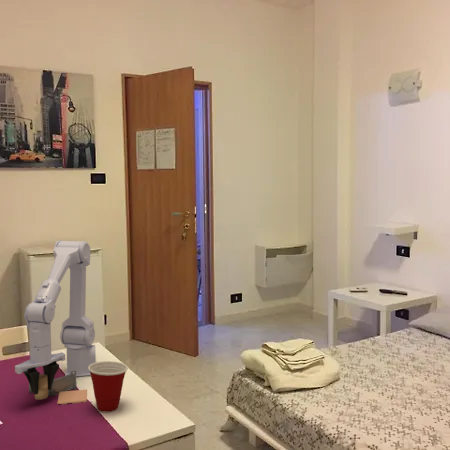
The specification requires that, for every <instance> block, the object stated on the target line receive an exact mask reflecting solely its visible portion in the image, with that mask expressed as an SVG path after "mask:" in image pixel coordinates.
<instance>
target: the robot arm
mask: <svg viewBox="0 0 450 450" xmlns="http://www.w3.org/2000/svg"><path fill="white" fill-rule="evenodd" d="M52 253H53V258H54V261H53V263H52V266H51V268H50V272H49V275H48V277H47V279H45V280H43V281H42V283H41V284H40V286H39V289H38V291H37V293H36V295H35V297H34V299H33V301H31V302H30V303H29V304H27V305H26V307H25V310H24V314H23V316H24V321H26V328H27V330H28V331H29V334H28V335H29V336H28V337H29V359H27V360H26V361H23V362H21V363H18V364H17V365H14V372H15V373H16V374H18V375H20V374H21V375H22V374H24V376H25V377H26V379H27V382H28V385H29V384H30V387H31V390H32V393H31V394H34V396H35V395H36V394H38V380H39V375H40V374H41V372H40V371H38V369H37V368H41V367H42V370H43V374H47V376H48V390H51V388H52V384H53V380H54V378H55V376H56V374H57V372H58V370H59V369H60V363H58V362H60V361H61V362H64V361H66V367H65V368H66V369H65V374H64V376H66V375H70V374H71V371H76V378H77V377H87V376H88V377H89V376H91V374H90V371H89V368H88V367H89V366H90V365H91V364H93V363H96V362H97V361H96V360H97V359H96V344H93V343H94V341H95V337H96V332H95V328H94V327H95V325H94V321H93V320H91V319H90V318H89V317H87V316H86V301H87V300H86V296H87V295H86V294H87V293H86V291H87V289H86V288H87V285H86V283H87V267H88V266H90V265H91V264H90V263H91V246H90V245H89V243H88V241H86V240H83V241H78V240H60V239H59V240H57V241H56V242H55V243H54V246H53V252H52ZM68 269H69V310H68V311H69V313H68V314H69V315H68V316H69V317H68V318H67V319H65V320H64V321H63V322H62V324H61V330H60V334H59V338H60V341H61V344H62V345H64V348H66V353H64V352H57V353H52V324H51V322H52V321H53V320H54V318H55V314H56V312H55V311H56V306H57V304H56V302H57V300H58V297H59V296H60V294H61V293H60V292H61V291H62V287H61V285H60V283H61V282H62V280H63V278H64V276H65V275H66V273H67V271H68Z"/></svg>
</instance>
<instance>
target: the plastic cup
mask: <svg viewBox="0 0 450 450" xmlns="http://www.w3.org/2000/svg"><path fill="white" fill-rule="evenodd" d="M88 368H89V371H90V374H91V375H90V376H91V377H90V378H91V382H92V383H91V384H92V388H93V394H94V399H95V404H96V408H97V411H99V412H103V413H111V412H114V411H116V410H118V408H119V407H120V406H119V405H120V403H121V401H120V400H121V396H122V391H123V386H124V385H123V384H124V378H125V376H126V373H127V371H128V370H129V367H128V365H127V364H125V363H122V362H119V361H111V360H110V361H109V360H108V361H106V360H105V361H103V360H102V361H96V363H93V364H91V365H90V366H89V367H88Z"/></svg>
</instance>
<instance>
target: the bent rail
mask: <svg viewBox="0 0 450 450" xmlns="http://www.w3.org/2000/svg"><path fill="white" fill-rule="evenodd" d="M71 389H73V390H77V377H76V371H71V374H70V375H66V376H65V375H64V376H61V377H57V378H55V377H54V380H53V384H52V388H51V390H48V395H49V396H48V397H50V396H53V397H55V396H57V395H59V392H64V391H68V390H69V391H72V390H71ZM28 393H29V394H33V393H32V390H31V387H30V384H29V383H28ZM56 394H57V395H56ZM54 395H55V396H54Z"/></svg>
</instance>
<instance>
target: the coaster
mask: <svg viewBox="0 0 450 450" xmlns="http://www.w3.org/2000/svg"><path fill="white" fill-rule="evenodd" d="M81 402H83V403H87V402H88V389H74V390H69V391H64V392H59V394H58V399H57V405H58V404H62V405H68V404H67V403H72V404H81Z"/></svg>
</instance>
